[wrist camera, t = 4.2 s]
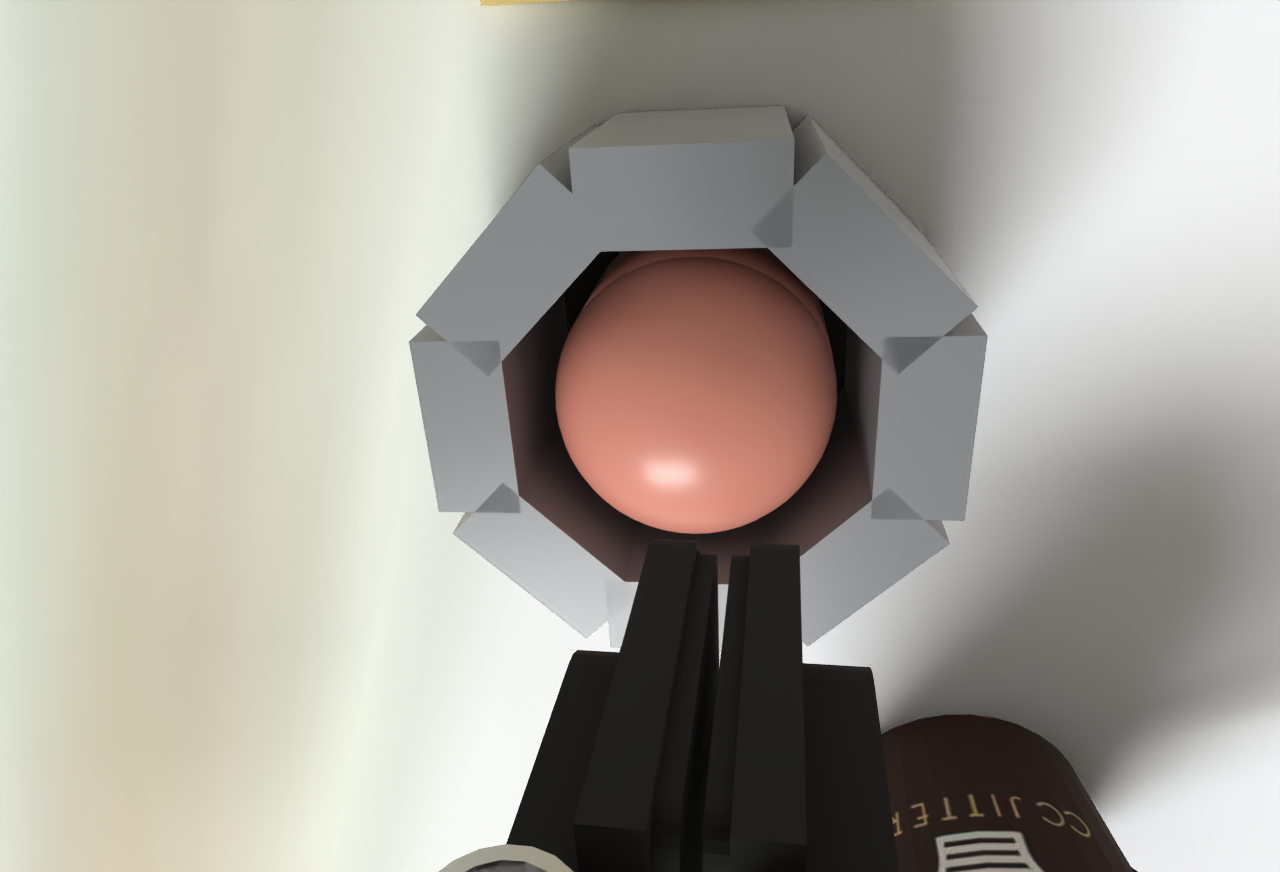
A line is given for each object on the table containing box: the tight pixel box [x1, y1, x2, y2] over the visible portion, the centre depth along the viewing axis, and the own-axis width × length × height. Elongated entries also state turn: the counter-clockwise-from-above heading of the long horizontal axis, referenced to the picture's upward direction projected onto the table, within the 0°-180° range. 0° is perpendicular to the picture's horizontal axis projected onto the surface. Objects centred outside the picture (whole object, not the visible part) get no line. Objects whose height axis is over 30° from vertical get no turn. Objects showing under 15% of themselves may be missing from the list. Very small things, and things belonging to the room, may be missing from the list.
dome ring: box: [409, 105, 987, 651], centre depth 16 cm, size 9×9×5 cm
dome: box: [555, 248, 837, 534], centre depth 16 cm, size 5×5×6 cm
